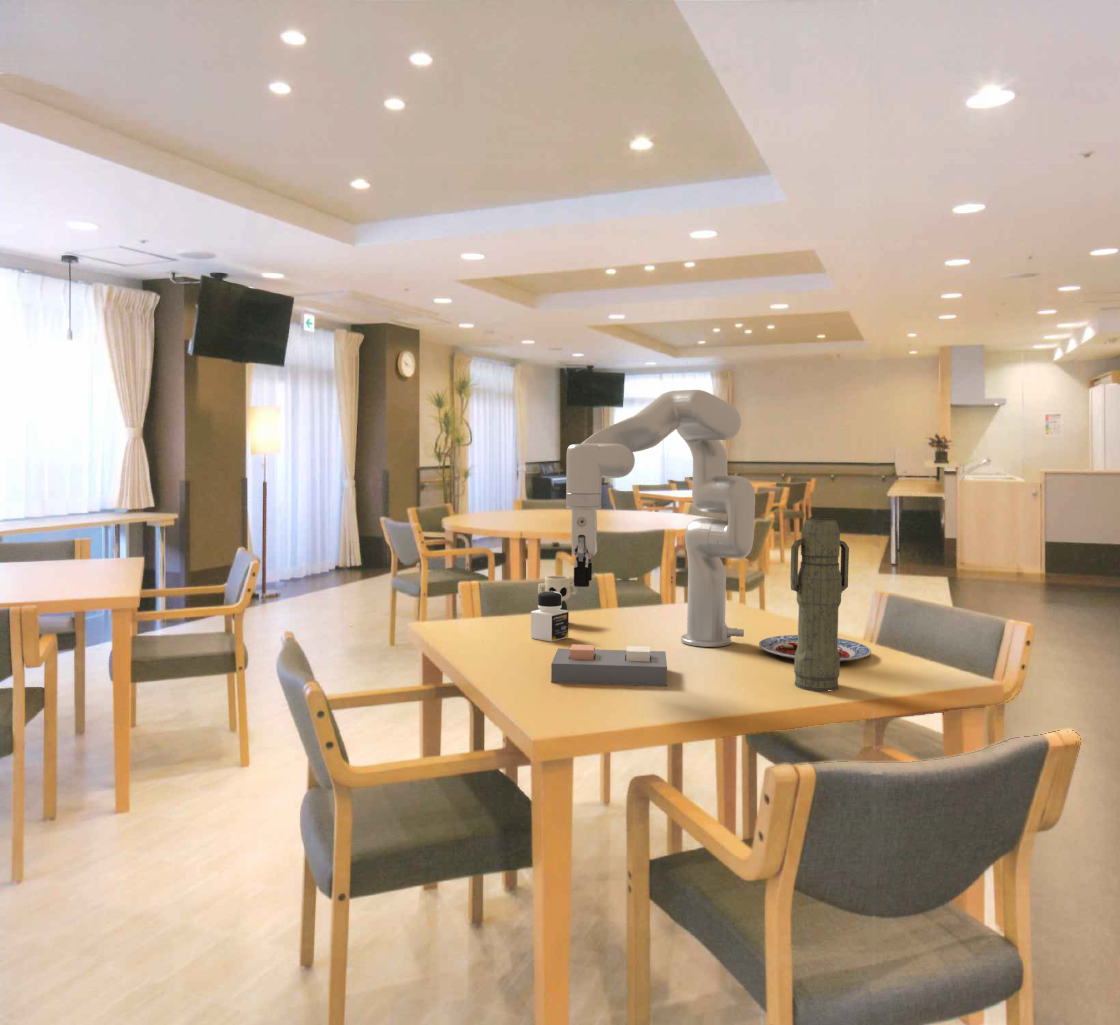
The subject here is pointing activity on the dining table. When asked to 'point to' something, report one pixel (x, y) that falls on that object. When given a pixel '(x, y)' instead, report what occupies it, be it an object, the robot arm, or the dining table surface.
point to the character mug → (559, 587)
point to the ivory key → (638, 653)
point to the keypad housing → (609, 669)
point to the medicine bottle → (549, 618)
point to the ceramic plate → (789, 644)
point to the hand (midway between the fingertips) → (582, 583)
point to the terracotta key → (582, 652)
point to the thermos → (818, 602)
